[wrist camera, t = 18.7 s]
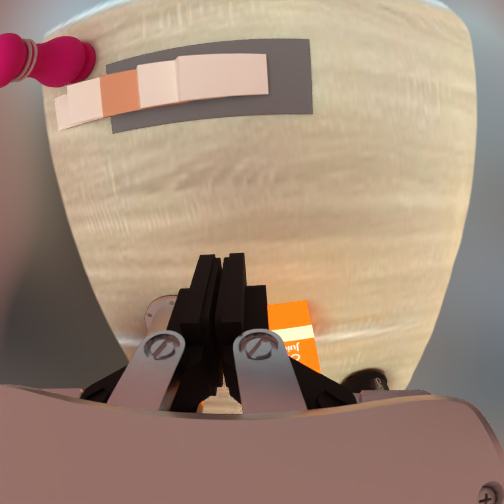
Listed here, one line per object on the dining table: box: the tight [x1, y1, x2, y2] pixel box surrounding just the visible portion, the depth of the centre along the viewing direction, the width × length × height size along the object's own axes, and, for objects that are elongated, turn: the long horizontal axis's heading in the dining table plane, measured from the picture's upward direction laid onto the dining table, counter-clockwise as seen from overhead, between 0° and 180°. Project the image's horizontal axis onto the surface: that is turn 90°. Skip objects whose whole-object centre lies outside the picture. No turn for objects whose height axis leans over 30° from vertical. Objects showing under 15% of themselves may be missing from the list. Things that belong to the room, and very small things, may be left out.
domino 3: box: [99, 69, 188, 118], centre depth 28 cm, size 2×5×10 cm
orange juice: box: [267, 300, 320, 373], centre depth 40 cm, size 8×9×20 cm
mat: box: [106, 39, 313, 134], centre depth 30 cm, size 10×26×1 cm, turn 93°
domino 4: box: [136, 60, 229, 109], centre depth 28 cm, size 2×5×10 cm
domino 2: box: [55, 93, 103, 131], centre depth 30 cm, size 2×5×10 cm
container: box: [342, 372, 389, 393], centre depth 51 cm, size 12×12×18 cm
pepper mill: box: [0, 33, 95, 88], centre depth 19 cm, size 7×7×20 cm
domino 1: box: [67, 78, 103, 125], centre depth 28 cm, size 2×5×10 cm
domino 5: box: [175, 54, 268, 102], centre depth 27 cm, size 2×5×10 cm
